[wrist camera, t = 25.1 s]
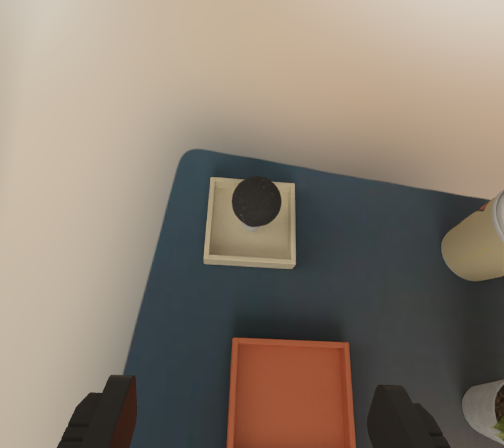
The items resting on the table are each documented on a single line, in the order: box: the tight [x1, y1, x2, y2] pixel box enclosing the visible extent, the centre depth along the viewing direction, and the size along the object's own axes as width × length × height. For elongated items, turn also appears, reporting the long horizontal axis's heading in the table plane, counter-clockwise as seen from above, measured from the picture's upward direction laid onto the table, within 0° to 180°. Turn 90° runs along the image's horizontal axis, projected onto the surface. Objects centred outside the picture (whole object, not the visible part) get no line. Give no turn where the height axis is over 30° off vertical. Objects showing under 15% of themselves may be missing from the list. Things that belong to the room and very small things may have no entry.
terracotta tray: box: [226, 337, 356, 448], centre depth 39 cm, size 13×13×2 cm
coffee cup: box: [441, 190, 504, 281], centre depth 43 cm, size 9×9×12 cm
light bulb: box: [232, 176, 282, 232], centre depth 42 cm, size 6×6×10 cm
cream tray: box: [204, 177, 296, 269], centre depth 46 cm, size 11×11×2 cm
